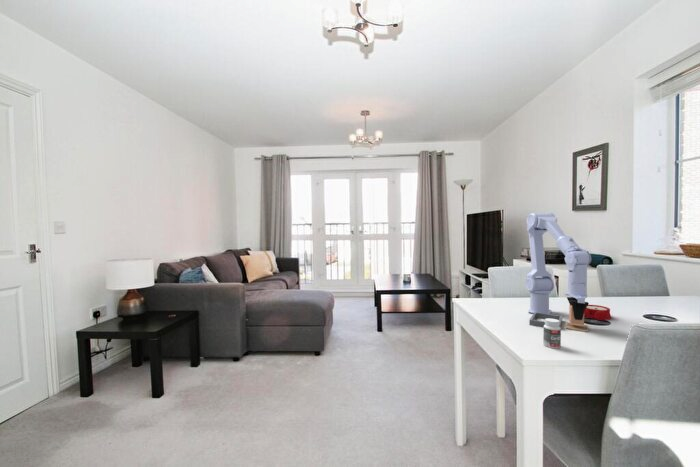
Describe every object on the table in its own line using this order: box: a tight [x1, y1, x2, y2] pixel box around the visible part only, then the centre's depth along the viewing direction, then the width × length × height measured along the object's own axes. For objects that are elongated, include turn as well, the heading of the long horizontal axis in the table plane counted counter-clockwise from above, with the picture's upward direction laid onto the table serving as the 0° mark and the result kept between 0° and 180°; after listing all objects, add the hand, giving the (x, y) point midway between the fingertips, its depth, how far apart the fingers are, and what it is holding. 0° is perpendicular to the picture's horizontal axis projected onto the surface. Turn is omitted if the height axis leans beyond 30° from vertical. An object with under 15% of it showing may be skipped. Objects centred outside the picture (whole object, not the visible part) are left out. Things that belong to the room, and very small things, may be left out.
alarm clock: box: [584, 304, 613, 322], centre depth 135 cm, size 10×6×15 cm
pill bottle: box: [542, 318, 562, 349], centre depth 104 cm, size 5×5×8 cm
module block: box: [568, 304, 585, 325], centre depth 122 cm, size 4×4×6 cm
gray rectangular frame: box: [529, 312, 563, 329], centre depth 128 cm, size 14×10×2 cm
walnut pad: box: [565, 321, 589, 333], centre depth 122 cm, size 9×6×1 cm
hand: (577, 318), depth 122 cm, fingers closed on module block, 4 cm apart
